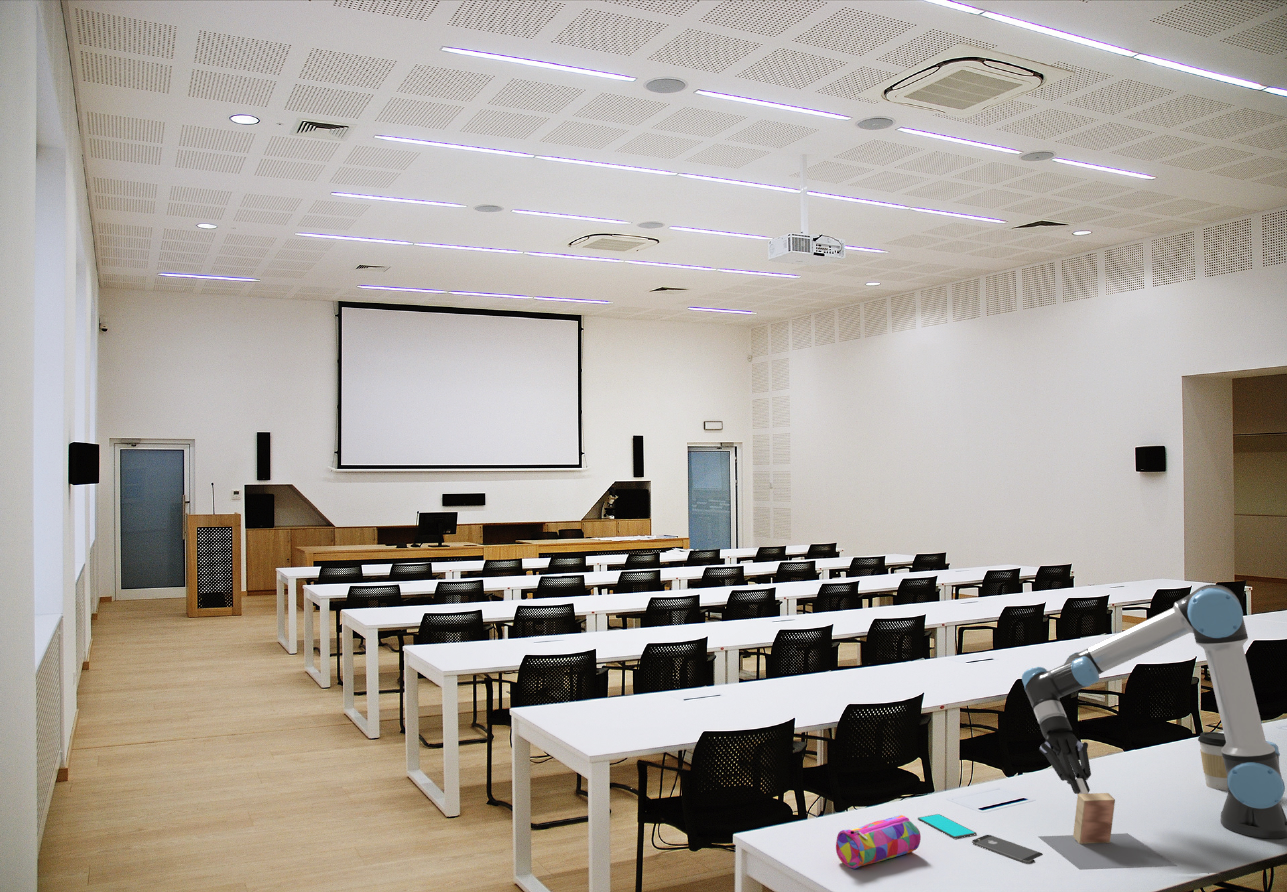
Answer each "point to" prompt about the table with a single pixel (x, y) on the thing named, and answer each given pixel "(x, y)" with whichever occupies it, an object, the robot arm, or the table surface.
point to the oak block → (1094, 818)
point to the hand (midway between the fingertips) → (1087, 804)
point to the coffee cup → (1213, 759)
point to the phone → (1007, 848)
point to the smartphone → (946, 826)
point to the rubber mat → (1107, 852)
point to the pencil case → (877, 841)
